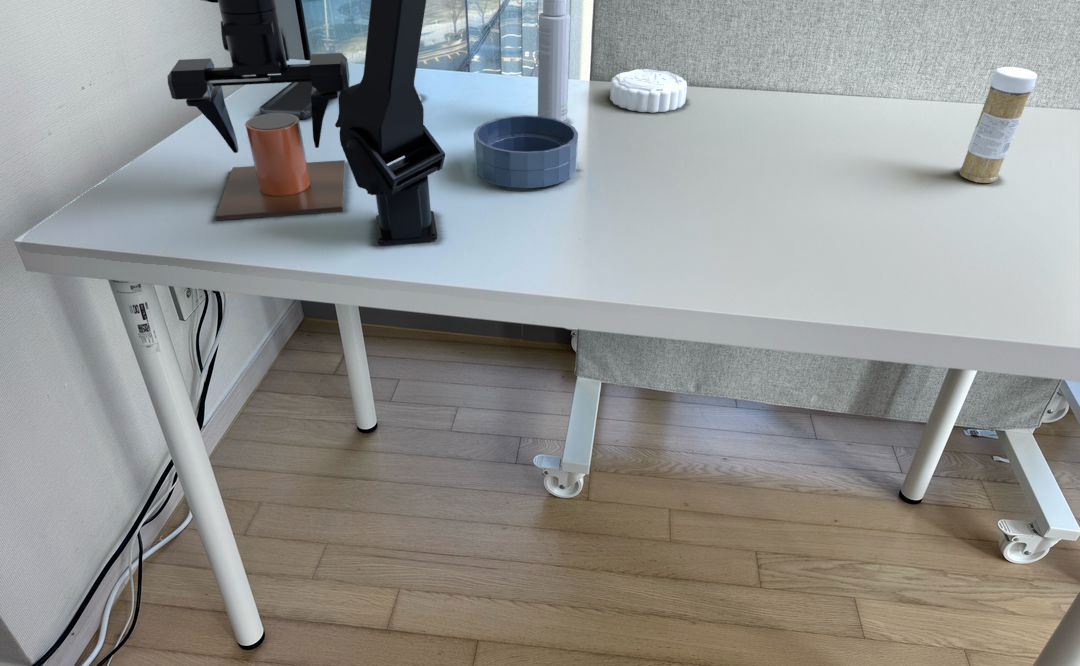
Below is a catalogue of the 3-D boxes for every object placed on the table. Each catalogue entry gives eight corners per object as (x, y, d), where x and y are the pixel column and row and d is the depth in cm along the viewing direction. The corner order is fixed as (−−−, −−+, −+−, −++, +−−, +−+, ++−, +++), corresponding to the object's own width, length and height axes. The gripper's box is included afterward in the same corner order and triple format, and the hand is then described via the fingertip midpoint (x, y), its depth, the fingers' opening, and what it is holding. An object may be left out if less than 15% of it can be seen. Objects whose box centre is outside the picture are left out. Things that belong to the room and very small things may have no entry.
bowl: (586, 187, 93) (588, 149, 90) (482, 195, 91) (481, 156, 88) (564, 148, 103) (565, 112, 100) (470, 154, 101) (468, 118, 98)
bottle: (560, 128, 109) (564, -20, 98) (533, 124, 111) (533, -23, 99) (571, 119, 113) (576, -26, 101) (544, 115, 114) (546, -29, 103)
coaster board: (343, 211, 87) (342, 206, 87) (216, 220, 85) (215, 216, 85) (345, 164, 98) (344, 159, 98) (233, 171, 96) (232, 167, 96)
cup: (309, 194, 89) (297, 128, 85) (256, 198, 88) (241, 131, 84) (311, 174, 94) (300, 110, 89) (262, 177, 93) (248, 113, 88)
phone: (256, 109, 112) (295, 78, 124) (258, 116, 112) (297, 85, 124) (307, 112, 111) (341, 81, 123) (309, 119, 111) (342, 88, 124)
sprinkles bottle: (972, 167, 99) (1010, 63, 91) (1004, 180, 96) (1047, 73, 88) (950, 174, 97) (987, 68, 89) (982, 187, 94) (1023, 79, 86)
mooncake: (697, 97, 121) (700, 75, 119) (664, 118, 113) (666, 95, 111) (632, 84, 127) (633, 62, 125) (596, 103, 119) (597, 80, 117)
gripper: (340, -10, 87) (358, 121, 96) (170, -5, 84) (205, 129, 93) (338, 12, 78) (357, 153, 88) (148, 18, 75) (188, 164, 85)
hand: (277, 149), depth 89 cm, fingers open, 9 cm apart
